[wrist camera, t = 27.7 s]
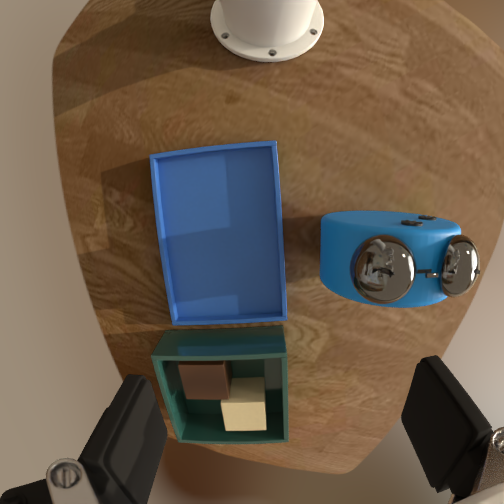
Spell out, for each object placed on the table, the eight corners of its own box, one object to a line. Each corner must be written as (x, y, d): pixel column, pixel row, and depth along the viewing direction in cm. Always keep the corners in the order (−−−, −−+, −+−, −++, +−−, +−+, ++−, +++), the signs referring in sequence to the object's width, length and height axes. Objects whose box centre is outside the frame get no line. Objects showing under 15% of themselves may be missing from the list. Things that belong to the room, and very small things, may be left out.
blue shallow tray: (154, 155, 31) (149, 154, 29) (275, 142, 30) (276, 140, 28) (176, 319, 35) (172, 325, 33) (285, 313, 34) (287, 320, 33)
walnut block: (187, 342, 35) (177, 365, 30) (228, 341, 35) (223, 364, 30) (193, 375, 36) (186, 399, 31) (232, 374, 36) (229, 399, 31)
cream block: (224, 377, 36) (220, 403, 31) (264, 376, 36) (264, 402, 31) (229, 405, 37) (225, 431, 32) (266, 404, 37) (266, 430, 32)
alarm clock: (309, 264, 33) (344, 327, 18) (309, 207, 32) (350, 231, 17) (413, 261, 33) (490, 309, 18) (417, 209, 31) (503, 232, 17)
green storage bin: (165, 329, 35) (150, 355, 29) (283, 324, 35) (287, 352, 29) (186, 413, 39) (178, 442, 33) (285, 411, 38) (288, 442, 32)
